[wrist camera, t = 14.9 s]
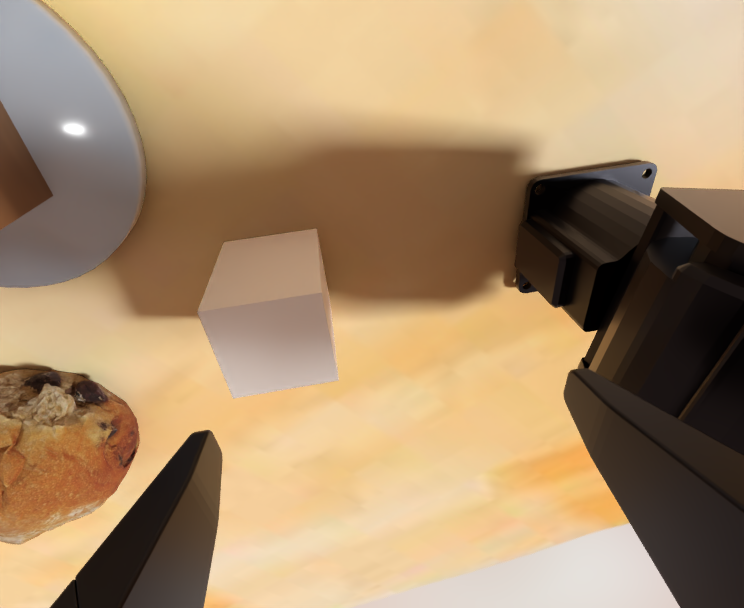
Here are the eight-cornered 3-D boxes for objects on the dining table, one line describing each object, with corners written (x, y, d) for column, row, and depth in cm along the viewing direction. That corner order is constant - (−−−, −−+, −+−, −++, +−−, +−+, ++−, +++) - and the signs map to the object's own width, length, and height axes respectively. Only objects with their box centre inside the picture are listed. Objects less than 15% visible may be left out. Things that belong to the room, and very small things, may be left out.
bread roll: (-29, 352, 25) (-184, 480, 19) (51, 329, 20) (-126, 493, 14) (102, 437, 30) (10, 556, 25) (190, 436, 25) (99, 584, 20)
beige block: (316, 228, 20) (321, 292, 15) (330, 303, 22) (338, 380, 17) (223, 241, 19) (197, 312, 15) (248, 316, 22) (232, 398, 17)
